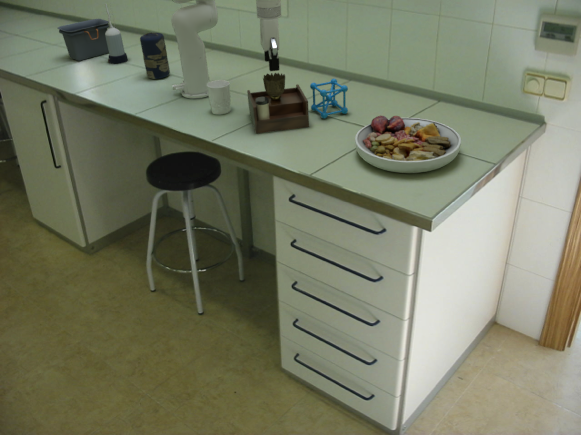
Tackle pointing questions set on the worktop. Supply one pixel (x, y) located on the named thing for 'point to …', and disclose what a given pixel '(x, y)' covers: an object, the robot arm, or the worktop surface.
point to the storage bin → (85, 38)
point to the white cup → (219, 96)
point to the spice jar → (262, 108)
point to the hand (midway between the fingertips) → (272, 65)
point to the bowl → (407, 144)
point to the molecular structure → (329, 98)
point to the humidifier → (115, 43)
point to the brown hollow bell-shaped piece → (274, 85)
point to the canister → (155, 55)
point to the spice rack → (281, 111)
